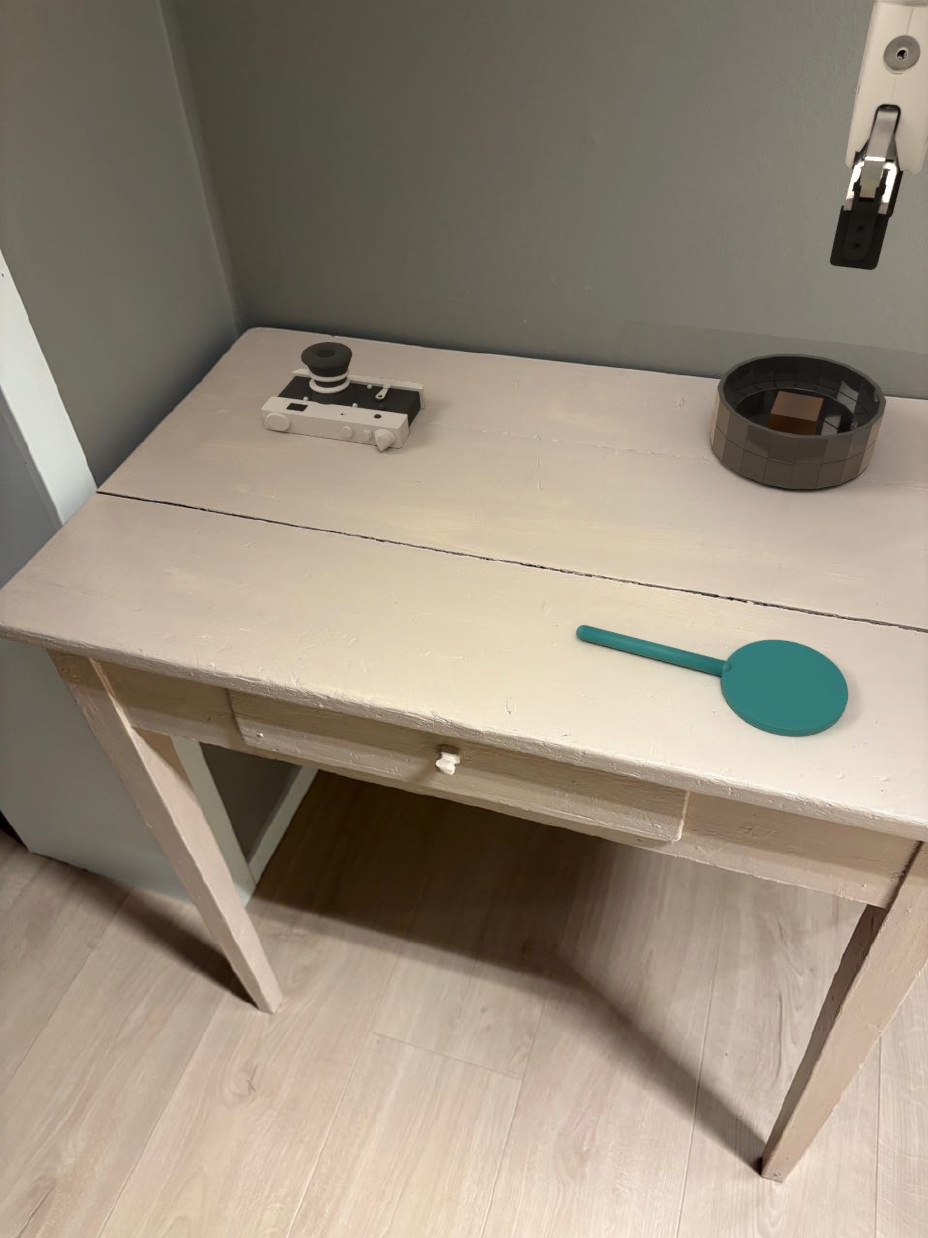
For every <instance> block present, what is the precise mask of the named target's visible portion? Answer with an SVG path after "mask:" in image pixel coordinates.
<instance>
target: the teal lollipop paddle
mask: <svg viewBox="0 0 928 1238" xmlns="http://www.w3.org/2000/svg"><path fill="white" fill-rule="evenodd" d="M575 633H576V636H577V638H578V639H579V640H581V641H584V642H589V643H593V644H597V645H600V646H604V647H608V648H613V649H616V650H620V651H624V652H628V653H631V654H635V655H639V656H642V657H647V658H650V659H654V660H658V661H661V662H666V663H670V664H673V665H677V666H681V667H685V668H688V669H692V670H696V671H700V672H704V673H708V674H712V675H715V676H719V677H720V687H721V692H722V695H723V698H724V700H725V701H726V703H727V705H728V706H729V708H730V709H731V710H732V711H733V712H734V713H735V714H736V715H737V716H738V717H739V718H741V720H743V721H745V722H746V723H747V724H749V725H751V726H753V727H755V728H757V729H759V730H761V731H764V732H767V733H770V734H774V735H778V736H784V737H785V736H786V737H806V736H812V735H816V734H819V733H822V732H824V731H826V730H828V729H829V728H831V727H832V726H834V725H835V724H836V723H837V722H838V721H839V720H840V719H841V718H842V716H843V714H844V712H845V710H846V707H847V704H848V701H849V686H848V683H847V681H846V677H844V674H843V672H842V671H841V670H840V668H839V667H838V666H837V665H836V664H835V663H834V662H833V661H832V660H831V659H830V658H829V657H828V656H826V655H825V654H824V653H821V652H820V651H818V650H816V649H815V648H812V647H810V646H807V645H805V644H803V643H798V642H795V641H791V640H786V639H785V640H784V639H762V640H757V641H753V642H749V643H747V644H744V645H742V646H741V647H739V648H737V649H736V650H735V651H733V652H732V653H731V655H729V656H728V658H727V659H726V660H724V659H720V658H717V657H712V656H709V655H708V656H707V655H705V654H701V653H697V652H693V651H690V650H689V651H688V650H685V649H681V648H676V647H673V646H670V645H665V644H661V643H658V642H654V641H650V640H646V639H643V638H637V637H633V636H630V635H626V634H622V633H618V632H616V631H615V632H614V631H611V630H607V629H602V628H599V627H595V626H592V625H587V624H581V625H579V626H578V627H577V628H576V630H575Z"/></svg>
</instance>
